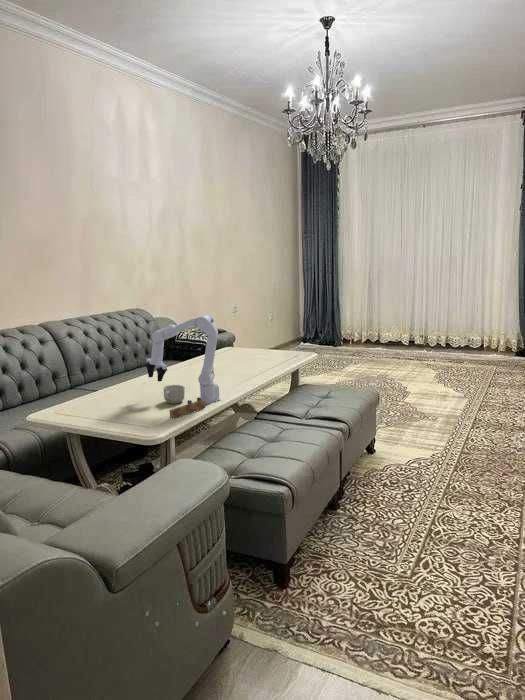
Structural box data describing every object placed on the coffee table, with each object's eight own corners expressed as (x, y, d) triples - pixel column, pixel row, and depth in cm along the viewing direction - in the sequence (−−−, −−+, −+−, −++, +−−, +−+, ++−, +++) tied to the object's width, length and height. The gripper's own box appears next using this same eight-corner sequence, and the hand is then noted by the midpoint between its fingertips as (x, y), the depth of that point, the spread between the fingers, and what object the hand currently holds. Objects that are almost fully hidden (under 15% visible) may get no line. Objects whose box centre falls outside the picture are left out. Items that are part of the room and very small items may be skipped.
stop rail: (199, 406, 267) (199, 397, 266) (205, 408, 264) (204, 398, 263) (167, 417, 252) (166, 407, 251) (172, 419, 250) (172, 408, 249)
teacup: (173, 398, 283) (172, 383, 282) (189, 400, 278) (189, 385, 276) (155, 405, 272) (154, 390, 270) (172, 408, 266) (171, 392, 264)
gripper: (142, 350, 276) (140, 376, 279) (159, 358, 267) (157, 384, 270) (153, 349, 282) (151, 374, 285) (171, 356, 272) (168, 382, 276)
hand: (155, 379), depth 278 cm, fingers open, 7 cm apart
